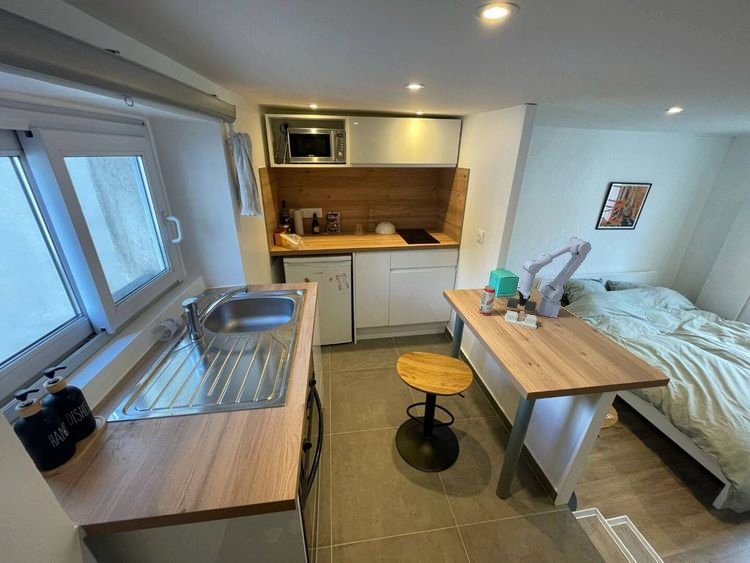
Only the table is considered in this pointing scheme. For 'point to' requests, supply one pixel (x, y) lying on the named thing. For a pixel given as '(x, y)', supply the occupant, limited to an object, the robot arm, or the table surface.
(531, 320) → the display stand
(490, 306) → the beer can
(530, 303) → the glasses bar
